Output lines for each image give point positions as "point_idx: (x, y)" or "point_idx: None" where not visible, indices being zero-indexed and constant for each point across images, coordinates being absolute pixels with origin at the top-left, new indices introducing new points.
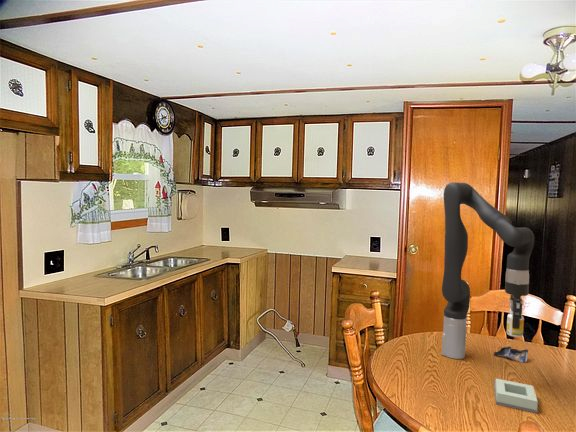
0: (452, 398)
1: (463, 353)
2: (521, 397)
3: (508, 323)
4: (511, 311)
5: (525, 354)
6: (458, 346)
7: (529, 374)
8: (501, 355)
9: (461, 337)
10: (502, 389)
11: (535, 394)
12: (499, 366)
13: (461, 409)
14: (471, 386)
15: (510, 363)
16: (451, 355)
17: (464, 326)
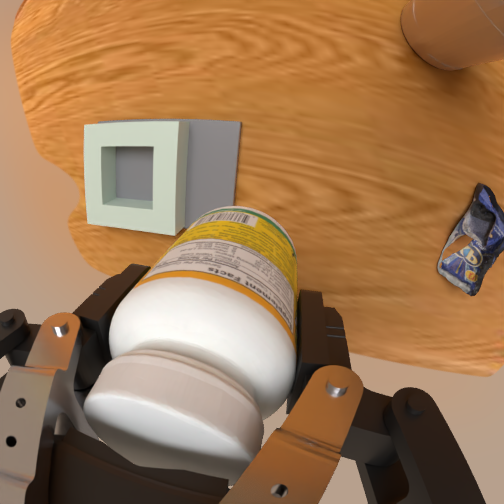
0: (95, 25)
1: (427, 52)
2: (87, 186)
3: (176, 247)
4: (106, 377)
5: (463, 282)
6: (423, 21)
7: (354, 257)
8: (471, 204)
9: (448, 21)
10: (108, 138)
11: (120, 227)
12: (395, 172)
13: (59, 55)
14: (179, 53)
15: (428, 219)
16: (404, 12)
17: (490, 23)
